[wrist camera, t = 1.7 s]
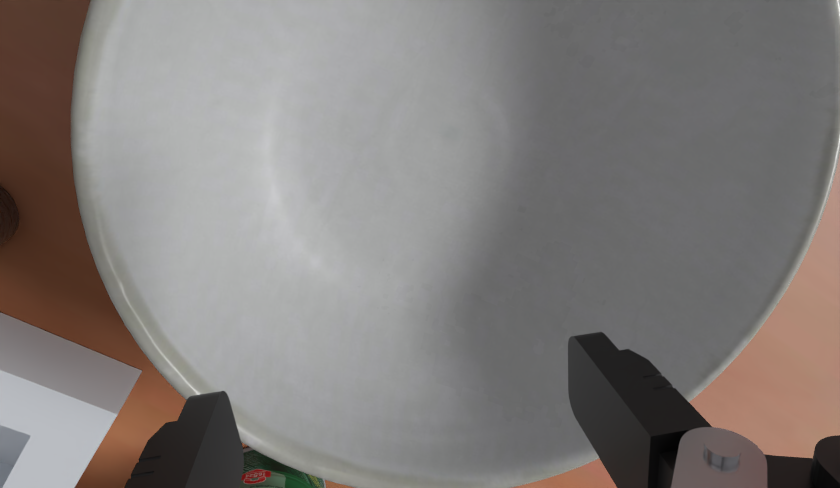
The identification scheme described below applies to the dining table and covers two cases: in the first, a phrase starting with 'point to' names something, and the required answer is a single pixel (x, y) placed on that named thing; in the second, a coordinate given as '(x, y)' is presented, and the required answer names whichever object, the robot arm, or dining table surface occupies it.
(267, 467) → the canned tomato
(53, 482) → the jig
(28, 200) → the dining table surface
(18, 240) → the dining table surface
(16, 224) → the shiny steel cylinder
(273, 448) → the decorative bowl
